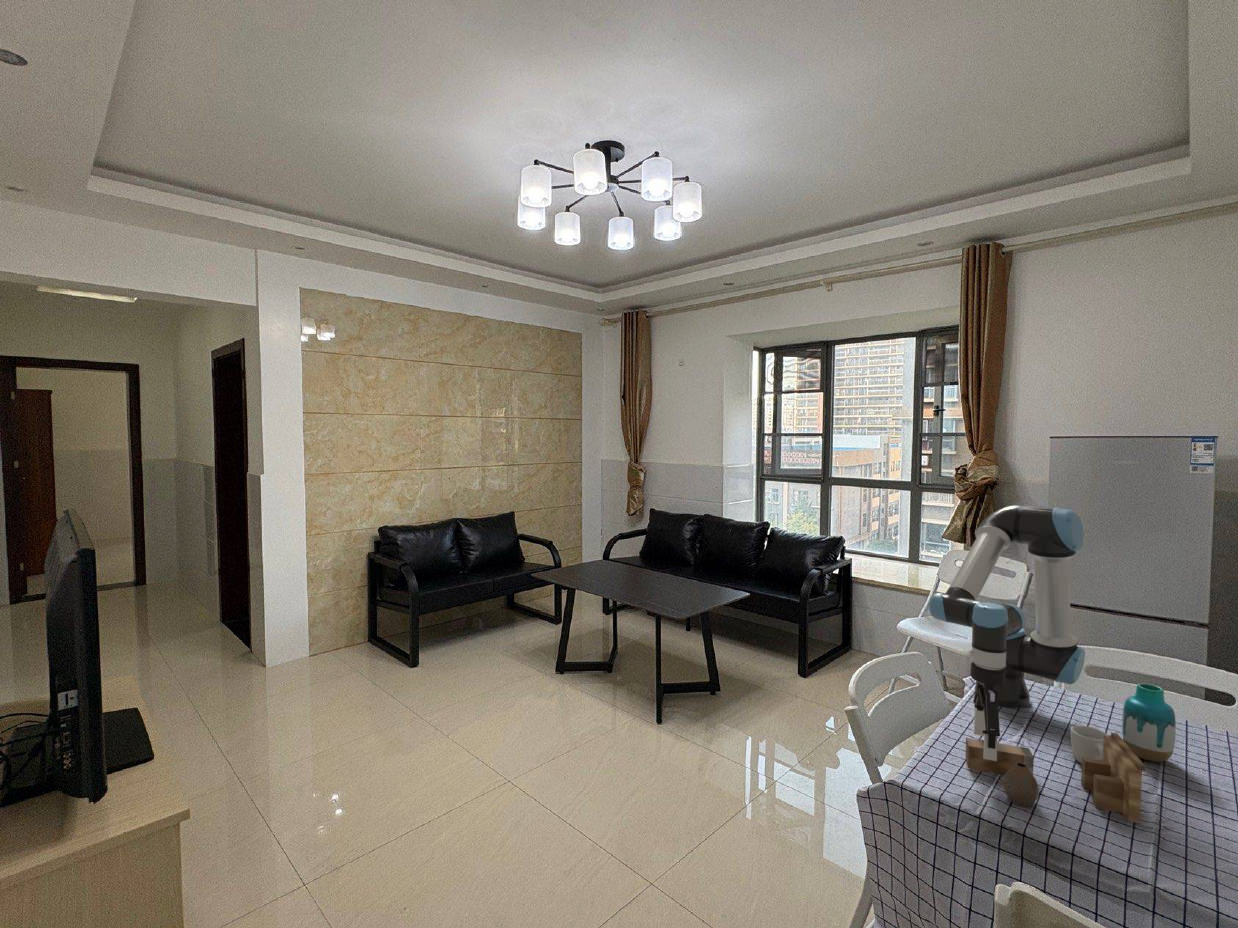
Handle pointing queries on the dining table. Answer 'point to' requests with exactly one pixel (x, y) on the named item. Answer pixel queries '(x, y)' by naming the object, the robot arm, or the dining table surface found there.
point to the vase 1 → (1020, 785)
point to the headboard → (1115, 778)
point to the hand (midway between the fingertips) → (984, 746)
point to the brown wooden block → (1005, 757)
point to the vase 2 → (1149, 724)
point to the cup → (1087, 742)
